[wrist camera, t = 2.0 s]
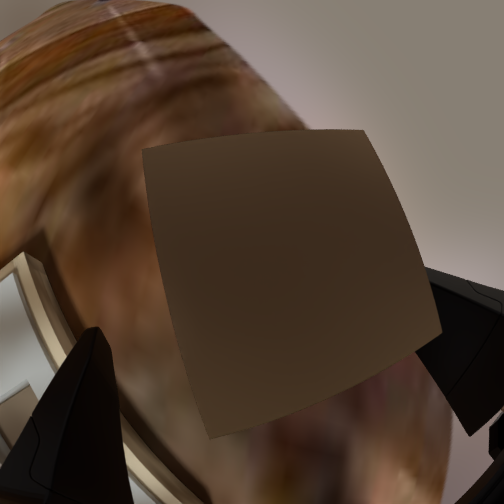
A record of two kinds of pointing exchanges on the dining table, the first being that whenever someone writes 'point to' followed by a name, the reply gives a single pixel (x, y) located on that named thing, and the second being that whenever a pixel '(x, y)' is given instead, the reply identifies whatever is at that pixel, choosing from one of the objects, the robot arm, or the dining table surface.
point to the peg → (284, 269)
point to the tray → (60, 353)
